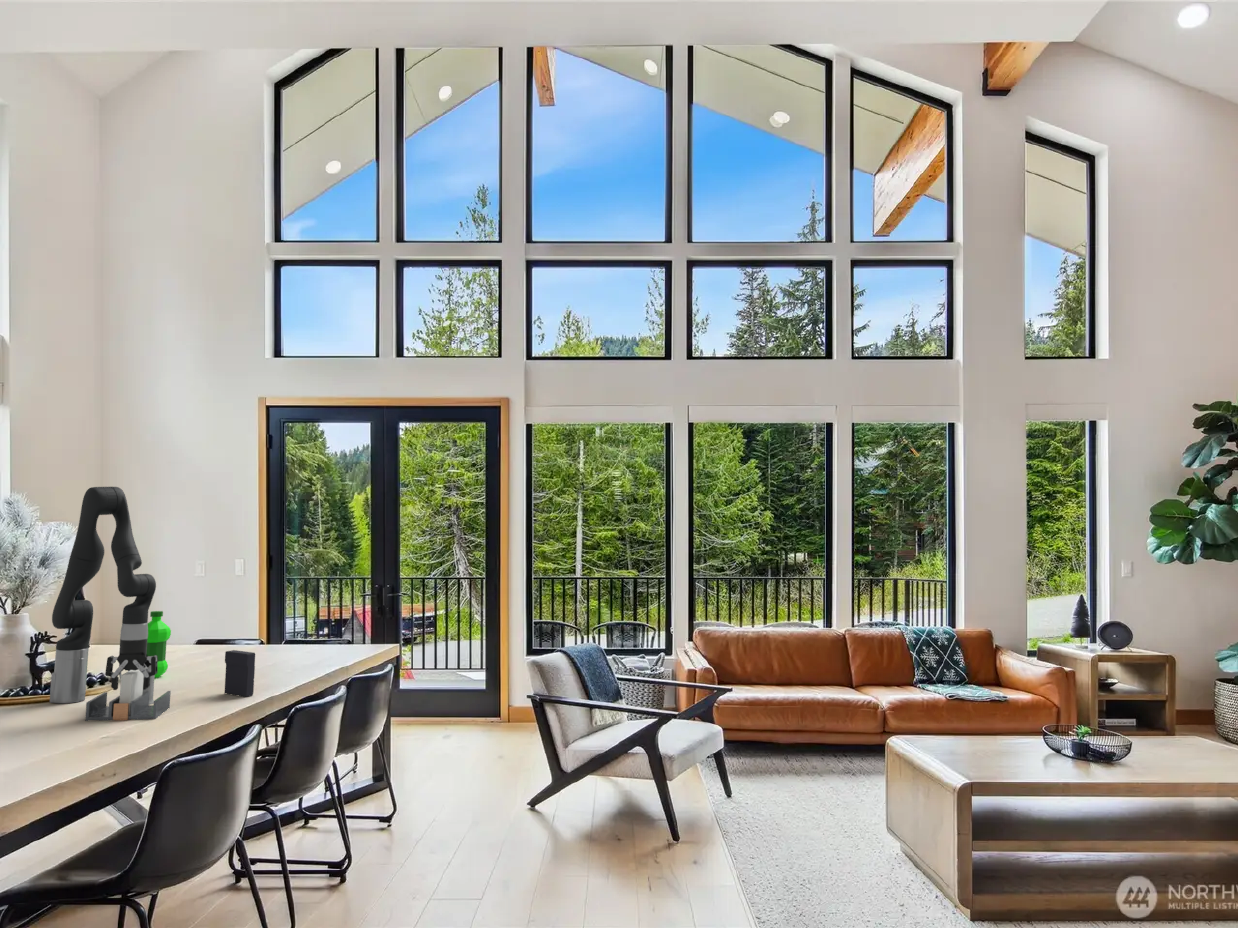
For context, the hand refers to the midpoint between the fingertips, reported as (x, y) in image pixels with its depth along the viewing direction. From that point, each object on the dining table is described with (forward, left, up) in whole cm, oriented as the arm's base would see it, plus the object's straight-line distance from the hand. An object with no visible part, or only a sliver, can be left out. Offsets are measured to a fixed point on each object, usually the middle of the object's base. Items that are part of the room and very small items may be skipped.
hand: (130, 689), depth 262 cm
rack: (0, 0, -8) cm, 8 cm away
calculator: (+27, +26, -8) cm, 39 cm away
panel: (0, +1, -7) cm, 7 cm away
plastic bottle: (-11, +63, -8) cm, 65 cm away
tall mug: (-4, +17, -8) cm, 20 cm away
